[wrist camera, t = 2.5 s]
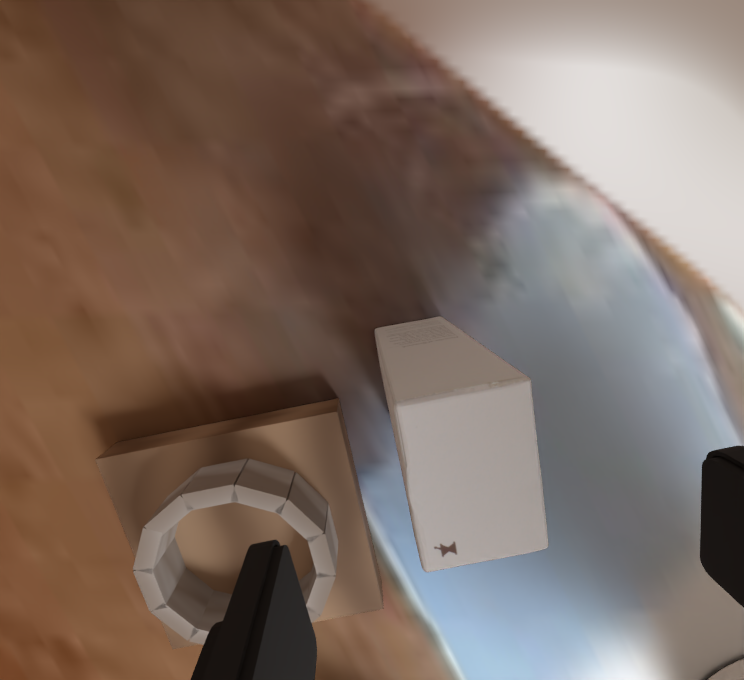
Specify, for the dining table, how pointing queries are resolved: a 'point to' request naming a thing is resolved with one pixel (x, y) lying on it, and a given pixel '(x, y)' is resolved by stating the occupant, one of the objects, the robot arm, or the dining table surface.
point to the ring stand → (243, 514)
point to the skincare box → (462, 445)
